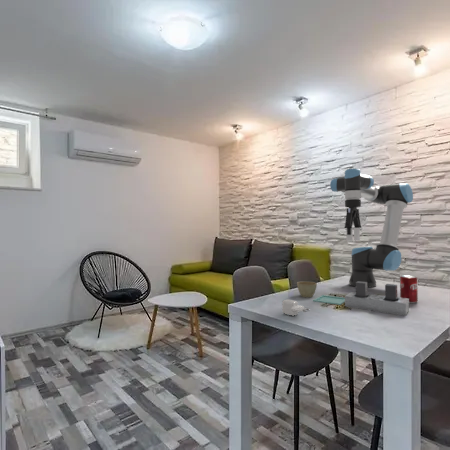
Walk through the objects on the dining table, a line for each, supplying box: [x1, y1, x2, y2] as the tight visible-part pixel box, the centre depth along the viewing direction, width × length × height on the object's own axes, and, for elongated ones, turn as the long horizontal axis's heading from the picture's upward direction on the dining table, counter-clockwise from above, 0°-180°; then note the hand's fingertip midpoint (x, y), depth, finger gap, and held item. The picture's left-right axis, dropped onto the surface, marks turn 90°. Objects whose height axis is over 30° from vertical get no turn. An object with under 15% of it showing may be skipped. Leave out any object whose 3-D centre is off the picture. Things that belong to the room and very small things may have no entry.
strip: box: [344, 283, 410, 317], centre depth 144 cm, size 20×24×11 cm
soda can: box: [399, 274, 419, 304], centre depth 151 cm, size 7×7×12 cm
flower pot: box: [296, 281, 318, 298], centre depth 164 cm, size 10×10×7 cm
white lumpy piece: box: [281, 299, 310, 317], centre depth 131 cm, size 11×5×6 cm, turn 43°
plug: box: [355, 281, 368, 298], centre depth 143 cm, size 4×4×10 cm
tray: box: [312, 294, 345, 306], centre depth 155 cm, size 13×13×1 cm
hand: (353, 240), depth 162 cm, fingers open, 13 cm apart
